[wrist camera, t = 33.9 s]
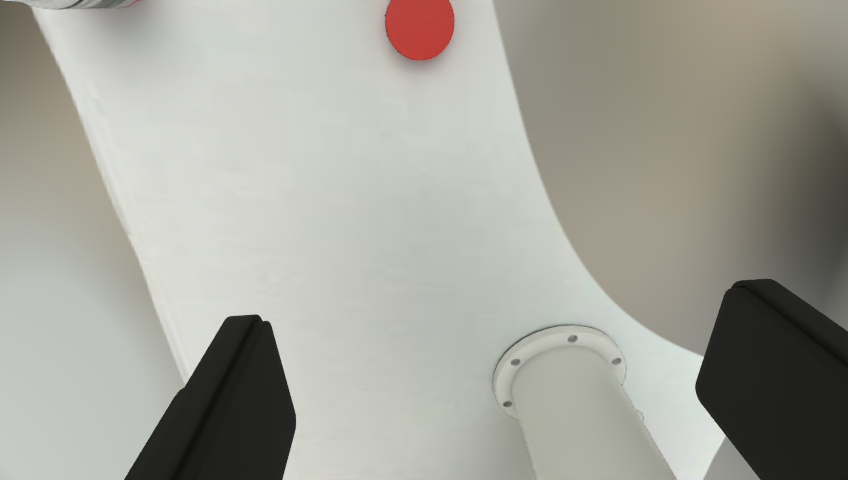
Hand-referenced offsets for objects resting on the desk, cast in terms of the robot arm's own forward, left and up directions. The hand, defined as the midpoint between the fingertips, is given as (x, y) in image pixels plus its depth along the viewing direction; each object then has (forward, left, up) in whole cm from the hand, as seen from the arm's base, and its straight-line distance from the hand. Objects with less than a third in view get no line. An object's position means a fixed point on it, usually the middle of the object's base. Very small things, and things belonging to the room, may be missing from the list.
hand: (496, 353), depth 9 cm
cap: (+4, -4, -21) cm, 22 cm away
